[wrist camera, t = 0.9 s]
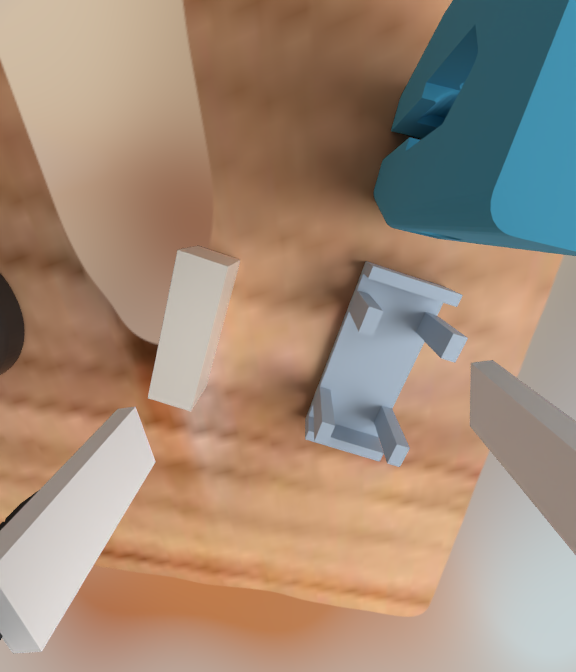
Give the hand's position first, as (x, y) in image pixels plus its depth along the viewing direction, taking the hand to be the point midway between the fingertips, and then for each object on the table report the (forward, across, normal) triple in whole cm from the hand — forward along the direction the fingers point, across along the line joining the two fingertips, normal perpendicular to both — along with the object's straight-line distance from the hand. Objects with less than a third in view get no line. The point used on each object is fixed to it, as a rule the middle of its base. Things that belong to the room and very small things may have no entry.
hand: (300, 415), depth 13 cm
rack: (+18, +6, -6) cm, 20 cm away
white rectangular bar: (+19, -10, 0) cm, 21 cm away
